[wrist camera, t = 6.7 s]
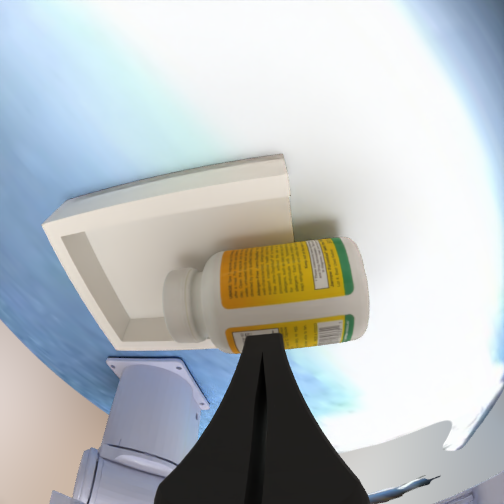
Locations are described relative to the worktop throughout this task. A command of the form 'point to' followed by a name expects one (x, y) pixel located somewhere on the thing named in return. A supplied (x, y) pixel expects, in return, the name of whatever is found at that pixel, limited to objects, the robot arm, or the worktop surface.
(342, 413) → the worktop surface
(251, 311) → the supplement bottle
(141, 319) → the tray
